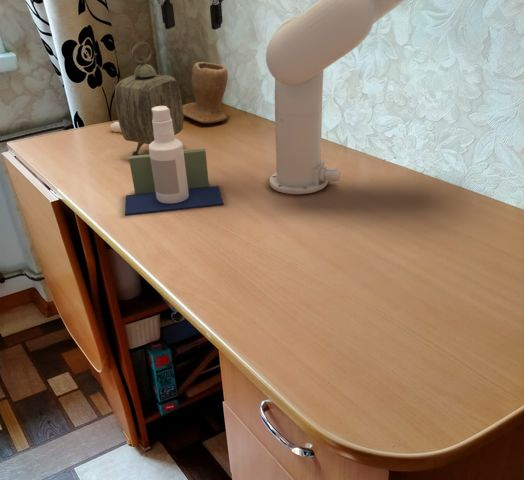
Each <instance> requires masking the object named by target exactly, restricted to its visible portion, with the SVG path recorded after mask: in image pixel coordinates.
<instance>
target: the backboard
mask: <svg viewBox="0 0 524 480" xmlns="http://www.w3.org/2000/svg"><path fill="white" fill-rule="evenodd" d="M183 151H184V160H185V168H186V176H187V184H188V189H191V188H201V187H210V182H209V171H208V163H207V161H208V160H207V152H206V148H199V149H189V150H183ZM128 161H129V167H130V174H131V178H132V184H133V190H134V194H143V193H153V192H156V191H155V185H154V179H153V173H152V166H151V160H150V154H149V153H148V154H147V153H146V154H139V155H136V156H132V155H129V156H128Z"/></svg>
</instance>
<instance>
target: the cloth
mask: <svg viewBox="0 0 524 480" xmlns="http://www.w3.org/2000/svg"><path fill="white" fill-rule="evenodd" d="M188 192H189V197H188V198H187V199H186V200H184V201H182V202H179V203H172V204H167V203H161V202H159V201H158V200H157V198H156V192H153V193H143V194H135V193H134V194H126V195H125V204H124V205H125V207H124V216H134V215H135V216H136V215H143V214H150V213H151V214H153V213H162V212H163V213H164V212H171V211H183V210H191V209H200V208H201V209H202V208H209V207H218V206H224V200H223V197H222V193H221V189H220V186H219V185H212V186H210V185H209V187H201V188H191V189H188Z"/></svg>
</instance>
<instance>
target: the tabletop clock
mask: <svg viewBox="0 0 524 480" xmlns="http://www.w3.org/2000/svg"><path fill="white" fill-rule="evenodd" d="M142 46H146V47H147V48H148V49H149V53H150V54H149V55H148V57H146V56H145V55H141V56H140V60H137V59H136V58H135V57H134V56H135V55H134V54H135V51H136V50H137V48H139V47H142ZM152 56H153V48H152V45H150V44H149V42H147V41H142V42H141V41H140V42H137V43H136V44H135V45H134V46H133V47H132V50H131V59H132V61H133V62H134V63H135V64H139V65H137V66H136V67H135V69H134V73H133V74H132V75H130V76H127V77H125V78H123V79H121V80H120V81H118V82H117V84H115V86H114V100H115V101H114V103H115V109H116V116H117V120H118V122H119V125H120V129H121V132H122V133H121V134H122V137H123V138H124V140H125V141H127V142H128V141H129V142H133V143H134V142H135V143H137V147H136V150H134V151H133V152H132V153H131V156H136V155H140V154H139V151H140V149H141V147H143V145H144V144H146V145H150V143H151V142H153V141H154V133H153V132H154V130H153V124H152V120H153V115H152V108H153V107H157V106H167V107H168V108H169V109H170V116H171V119H172V123H173V130H174V135H175V136H176V135H178V134H179V133H181V131H182V130H183V129H184V115H183V109H182V106H183V101H182V95H181V90H180V84H179V83H178V81H177V80H176V79H175V78H174V76H172V75H165V74H157V71H156V69H155V68H154V67H153V66H152V65H151V64H148V62H150V60H151V59H152Z"/></svg>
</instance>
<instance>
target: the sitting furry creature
mask: <svg viewBox="0 0 524 480" xmlns="http://www.w3.org/2000/svg"><path fill="white" fill-rule="evenodd" d="M109 126H110V130H111V131H112V132H114V133H120V134H122V132H121V129H120V125H119V121H114V122H112V123H110V125H109Z"/></svg>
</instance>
